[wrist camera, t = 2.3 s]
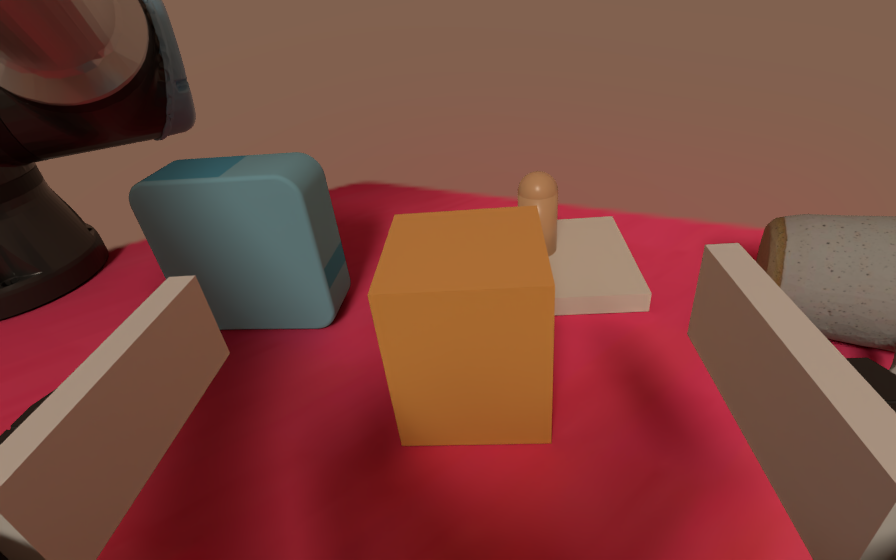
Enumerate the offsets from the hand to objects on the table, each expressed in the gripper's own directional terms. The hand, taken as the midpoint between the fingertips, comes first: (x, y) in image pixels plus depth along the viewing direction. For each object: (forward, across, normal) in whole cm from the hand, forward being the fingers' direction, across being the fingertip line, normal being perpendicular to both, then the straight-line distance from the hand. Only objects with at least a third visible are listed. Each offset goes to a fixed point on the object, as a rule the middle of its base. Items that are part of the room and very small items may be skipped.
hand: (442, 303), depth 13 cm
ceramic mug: (+14, +22, -14) cm, 30 cm away
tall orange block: (+11, 0, -14) cm, 18 cm away
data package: (+20, -16, -14) cm, 29 cm away
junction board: (+24, +3, -14) cm, 28 cm away
